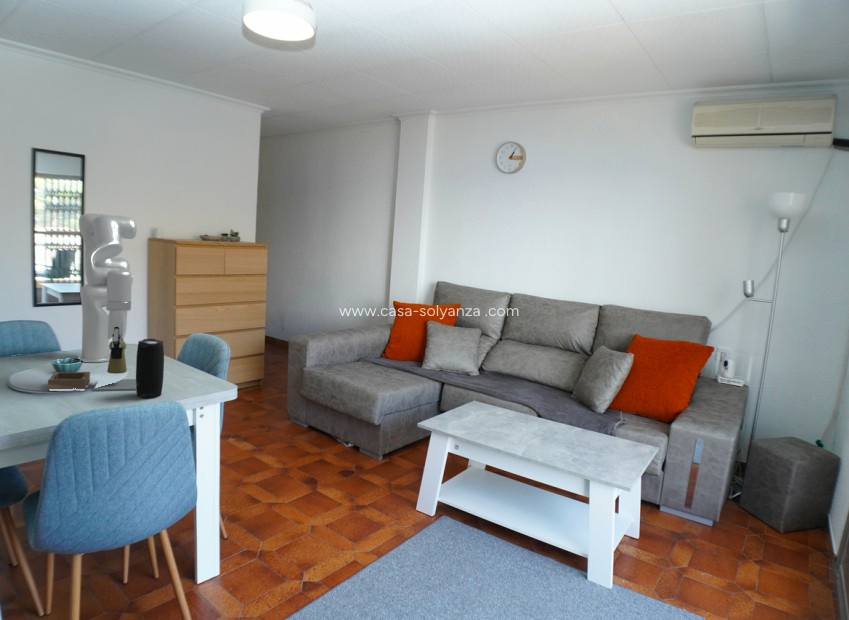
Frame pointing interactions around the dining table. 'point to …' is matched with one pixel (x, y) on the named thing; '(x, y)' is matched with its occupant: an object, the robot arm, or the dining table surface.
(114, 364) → the olive bottle
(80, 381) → the walnut holder
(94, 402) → the dining table surface
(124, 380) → the charcoal mat
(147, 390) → the portable speaker
